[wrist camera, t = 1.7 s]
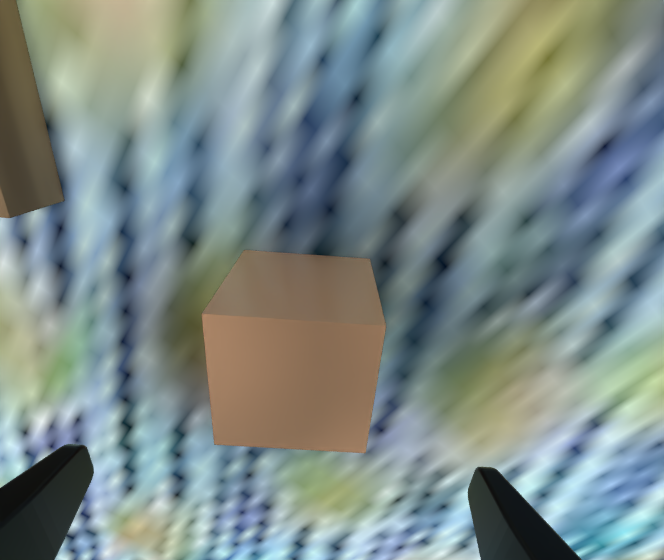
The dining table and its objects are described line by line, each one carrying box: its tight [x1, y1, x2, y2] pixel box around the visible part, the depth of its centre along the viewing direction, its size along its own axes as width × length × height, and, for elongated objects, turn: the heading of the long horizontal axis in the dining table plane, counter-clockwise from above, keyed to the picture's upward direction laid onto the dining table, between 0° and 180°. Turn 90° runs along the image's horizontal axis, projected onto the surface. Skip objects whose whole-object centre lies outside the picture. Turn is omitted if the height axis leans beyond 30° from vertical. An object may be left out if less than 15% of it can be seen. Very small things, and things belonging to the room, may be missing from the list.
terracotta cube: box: [202, 250, 386, 453], centre depth 13 cm, size 5×5×5 cm
